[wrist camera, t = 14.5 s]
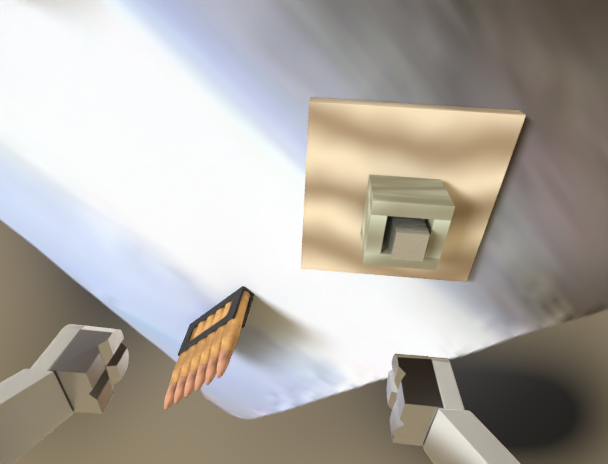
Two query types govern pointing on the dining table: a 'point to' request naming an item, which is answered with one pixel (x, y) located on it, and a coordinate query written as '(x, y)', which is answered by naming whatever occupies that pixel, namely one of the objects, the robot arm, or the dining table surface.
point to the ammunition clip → (209, 345)
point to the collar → (404, 203)
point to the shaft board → (404, 163)
